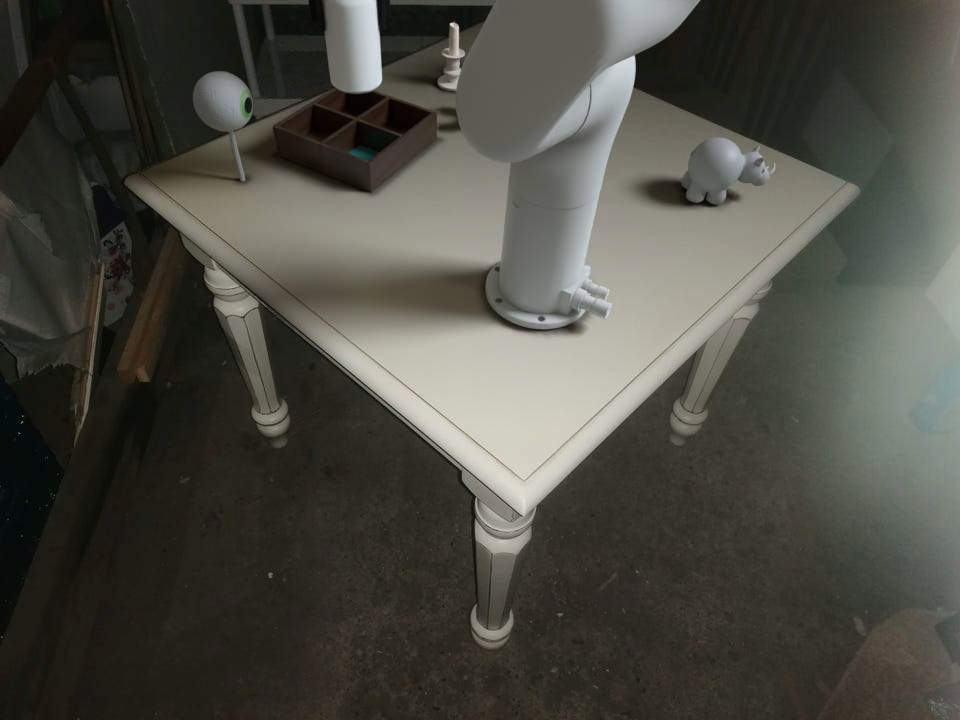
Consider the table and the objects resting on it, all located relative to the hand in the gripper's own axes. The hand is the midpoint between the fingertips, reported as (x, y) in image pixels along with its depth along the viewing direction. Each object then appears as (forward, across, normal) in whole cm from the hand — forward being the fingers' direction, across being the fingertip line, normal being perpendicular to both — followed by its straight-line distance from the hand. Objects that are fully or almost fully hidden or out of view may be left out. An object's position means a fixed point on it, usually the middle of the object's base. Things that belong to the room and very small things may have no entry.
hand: (351, 25), depth 79 cm
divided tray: (+21, 0, +8) cm, 22 cm away
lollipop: (+21, -17, +2) cm, 27 cm away
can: (+7, 0, 0) cm, 7 cm away
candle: (+21, +19, +25) cm, 37 cm away
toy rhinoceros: (+21, +49, -14) cm, 55 cm away
